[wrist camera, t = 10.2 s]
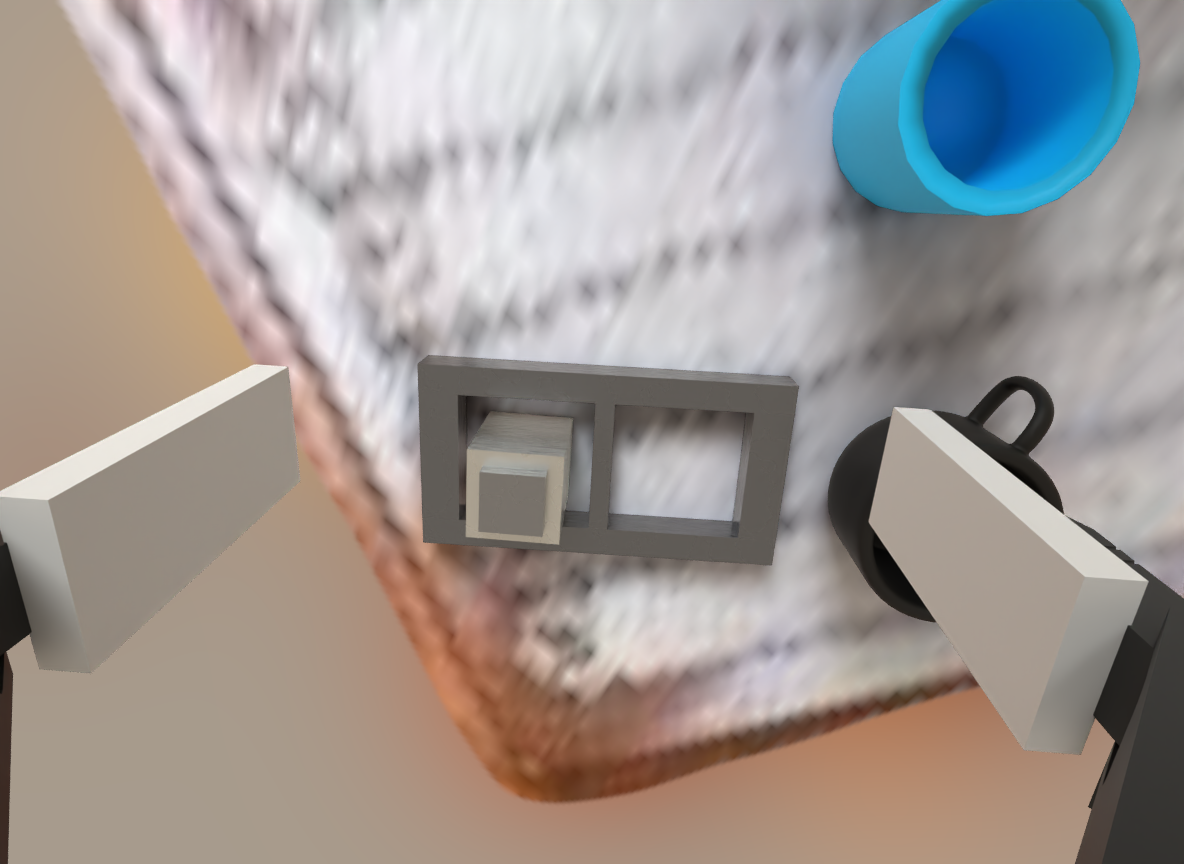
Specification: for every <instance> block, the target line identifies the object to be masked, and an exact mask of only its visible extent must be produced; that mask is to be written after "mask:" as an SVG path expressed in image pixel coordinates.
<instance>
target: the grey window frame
mask: <svg viewBox="0 0 1184 864" xmlns="http://www.w3.org/2000/svg"><path fill="white" fill-rule="evenodd" d="M798 389H799V386H798V385H797V384H796V383H795V382H794V381H793V380H792V379H791V377H788V376H771V375H754V374H737V373H720V372H703V371H686V370H670V369H653V368H636V367H619V366H602V365H585V364H568V363H551V362H534V361H517V360H500V359H483V358H466V357H450V356H433V355H428V356H427V357H426V358H424V359H423V360H422V361H420V362H419V363H418V391H419V422H420V454H421V486H422V518H423V542H425V543H440V544H456V545H471V546H486V547H501V548H517V549H532V550H547V551H562V552H577V553H593V554H608V555H623V556H638V557H654V558H669V559H684V560H699V561H714V562H730V563H745V564H760V565H772V561H773V554H774V548H775V541H776V534H777V528H778V521H779V515H780V508H781V501H782V495H783V488H784V482H785V475H786V468H787V462H788V455H789V449H790V442H791V435H792V429H793V422H794V416H795V409H796V402H797V396H798ZM466 396H482V397H499V398H516V399H532V400H549V401H565V402H582V403H595V421H594V439H593V457H592V476H591V494H590V512H577V511H565V515H564V521H563V526H562V532H561V537H560V543H559V545H558V544H546V543H534V542H521V541H509V540H497V539H485V538H473V537H466V479H467V425H466ZM615 405H631V406H648V407H664V408H681V409H698V410H714V411H731V412H746V419H745V427H744V435H743V442H742V450H741V458H740V466H739V474H738V481H737V489H736V497H735V505H734V513H733V521H717V520H702V519H686V518H671V517H655V516H640V515H624V514H608V510H609V494H610V478H611V463H612V447H613V431H614V416H615Z"/></svg>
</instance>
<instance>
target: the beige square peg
mask: <svg viewBox="0 0 1184 864" xmlns="http://www.w3.org/2000/svg"><path fill="white" fill-rule="evenodd" d="M572 429H573V418H568V417H556V416H543V415H531V414H518V413H506V412H493V411H490V413H489V414H488V416H487V418H486V419H485V421H484V422H483V424H482V426H481V427H480V429H479V430H478V432H477V434H476V435H475V437H474V439H473V440H472V442H471V443H470V445H469V447H468V448H467V479H466V537H473V538H485V539H497V540H509V541H521V542H534V543H546V544H558V545H559V543H560V537H561V532H562V526H563V521H564V515H565V510H566V504H567V499H568V491H569V476H570V460H571V445H572Z"/></svg>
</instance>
